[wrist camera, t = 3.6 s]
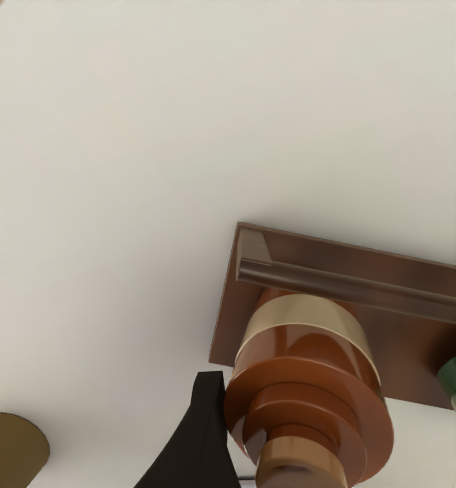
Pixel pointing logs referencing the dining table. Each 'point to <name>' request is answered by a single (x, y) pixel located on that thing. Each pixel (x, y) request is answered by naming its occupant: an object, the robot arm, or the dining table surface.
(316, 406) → the amber bottle
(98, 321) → the dining table surface
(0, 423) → the olive pawn
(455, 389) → the green bottle
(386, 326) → the rack
